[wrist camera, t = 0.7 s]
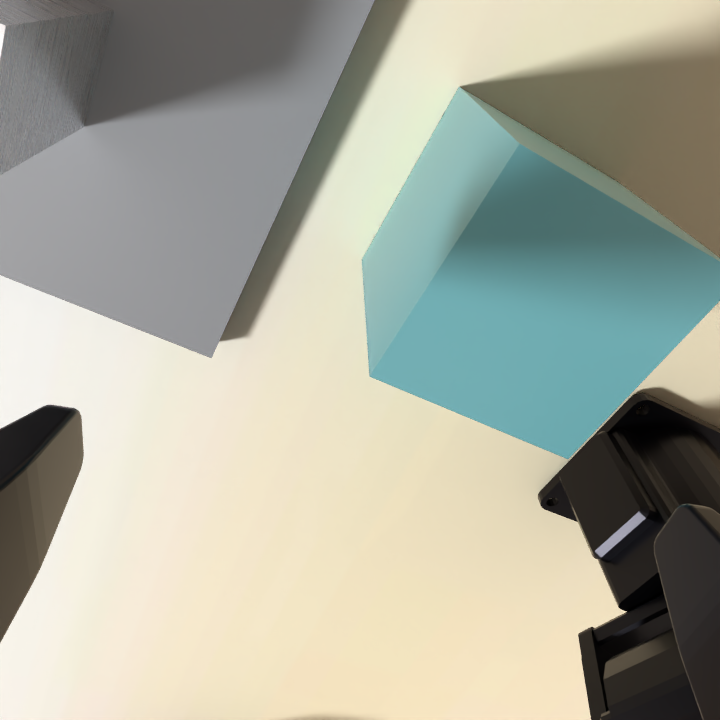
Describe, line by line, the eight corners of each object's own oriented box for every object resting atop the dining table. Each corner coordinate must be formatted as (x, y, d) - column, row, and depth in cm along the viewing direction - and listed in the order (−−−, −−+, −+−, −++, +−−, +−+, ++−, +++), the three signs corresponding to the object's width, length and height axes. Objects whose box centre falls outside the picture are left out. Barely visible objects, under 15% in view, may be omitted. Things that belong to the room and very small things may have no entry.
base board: (420, -107, 14) (425, -112, 13) (216, 342, 20) (211, 358, 20) (-282, -595, 10) (-339, -648, 9) (-249, 155, 17) (-280, 164, 16)
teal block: (618, 182, 18) (743, 275, 12) (507, 329, 20) (568, 459, 15) (458, 86, 16) (519, 143, 11) (361, 259, 19) (369, 376, 13)
